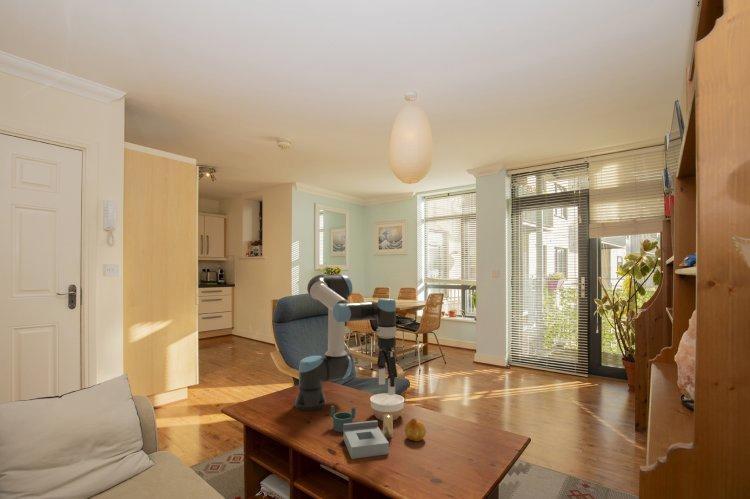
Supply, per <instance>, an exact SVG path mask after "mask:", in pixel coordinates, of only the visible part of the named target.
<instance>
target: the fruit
mask: <svg viewBox="0 0 750 499" xmlns="http://www.w3.org/2000/svg"><path fill="white" fill-rule="evenodd" d="M426 432H427V431H426V427H425V424H423V422H421V420H419V419H416V418H412V419H410V420H409V421H408V422H407V423H406V424H405V427H404V434H405V437H407V439H409V440H410V441H413V442H421V441H422V440H423V439H424V438H425V436H426Z"/></svg>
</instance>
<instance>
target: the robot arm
mask: <svg viewBox="0 0 750 499" xmlns="http://www.w3.org/2000/svg"><path fill="white" fill-rule="evenodd" d="M306 289H307V291H306V292H307V294H308V295H309V296H310V297H311V298H312V299H313V300H315V301H319V302H320V303H322V304H323V305H324V306H325V307H326V308H327V309H328V310H327V311H328V312H327V313H328V315H327V316H328V319H327V320H328V322H327V323H328V324H327V325H328V326H327V350H326V351H325V353H324V357H323V356H322V355H318V354H317V355H310V356H305V357H304V358H302V359H301V360H300V361H299V366H298V392H297V394H296V398H295V401H294V407H295V409H297V410H298V411H303V412H312V411H318V410H321V409H323V408H325V407H326V404H327V400H326V399H327V398H326V396H325V393H324V389H323V383H327V382H334V381H342V380H344V379H347V378H349V376H350V374H351V372H352V367H353V366H352V365H353V363H352V358H351V357H350V356H349V355H348V352H347V351H346V350H345V346H346V345H345V344H346V343H345V336H346V335H345V334H346V328H345V324H346V323H347V322H357V321H369V320H373V321H374V320H376V321H377V328H376V332H377V336H378V337H377V346H378V350H379V351H378V356H377V360H376V365H377V368H378V386H381V385H386V377H387V393H388V395H395V394H396V378H398V372H397V371H398V370H397V365H396V359H395V358H396V353H395V351H392V349H393V348H395V347H396V346H397V339H396V336H397V326H396V325H397V323H396V322H397V306H396V305H397V304H396V300H395V299H394V298H378V300H377V301H373V300H372V301H371V300H369V301H368V300H367V301H364V302H350V301H349V297H351V296H352V295H353V294H352V293H353V284H352V281H351V278H350V277H349V276H348V275H346V274H319V275H315V276H314V277H312V278H311V279H310V280H309V281H308V283H307V287H306ZM386 369H387V374H388V375H387V376H386Z"/></svg>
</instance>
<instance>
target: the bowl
mask: <svg viewBox="0 0 750 499" xmlns="http://www.w3.org/2000/svg"><path fill="white" fill-rule="evenodd" d="M369 400H370V409H371V411H372V414H374V416H375V418H376V419H378V420H380V421H383V415H386V414H389V415H392V416H393V421H395V420H397V419H398V418H399V417H400V415H401V414H402V412H403V411H404V407H405V406H404V404H405V403H404V402H405V398H404V397H403V396H402V395H399V394H397V393H395V395H388V392H386V393H385V392H384V393H377V394H373V395H372V396H370V398H369Z"/></svg>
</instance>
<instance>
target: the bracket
mask: <svg viewBox="0 0 750 499" xmlns="http://www.w3.org/2000/svg"><path fill="white" fill-rule="evenodd" d="M335 409H336V408H335V405H330V418H333V419H332V420H333V421H332V422H333V423H332V425H333V426H332V429H333V430H334V431H335V432H338V433H343V425H344V424H346V423H354V422H353V420H354V419H355V418H356V406H351V410H350V411H351V412H347V411H341V412H340V411H339V412H336V413H335Z"/></svg>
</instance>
